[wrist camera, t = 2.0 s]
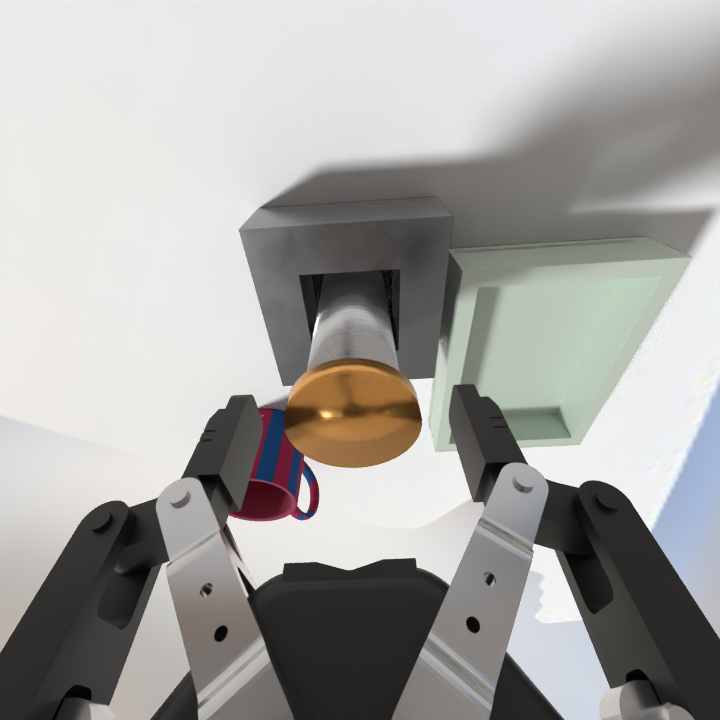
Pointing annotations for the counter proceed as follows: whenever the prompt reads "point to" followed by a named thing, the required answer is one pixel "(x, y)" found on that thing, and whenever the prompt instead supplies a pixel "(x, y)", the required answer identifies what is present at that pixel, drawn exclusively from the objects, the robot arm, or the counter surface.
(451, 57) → the counter surface
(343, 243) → the block
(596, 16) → the counter surface
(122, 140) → the counter surface
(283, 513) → the mug
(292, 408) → the pin
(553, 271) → the tray
